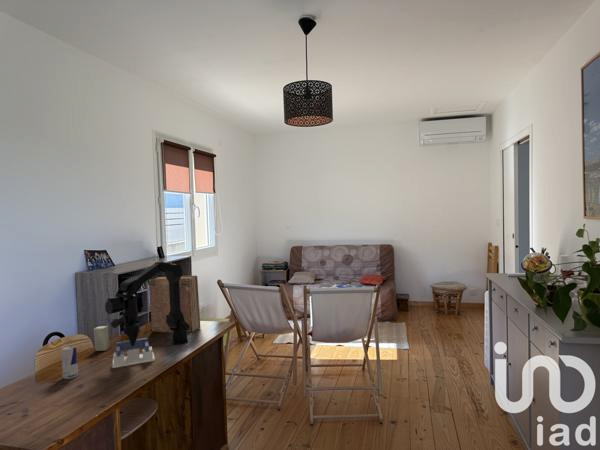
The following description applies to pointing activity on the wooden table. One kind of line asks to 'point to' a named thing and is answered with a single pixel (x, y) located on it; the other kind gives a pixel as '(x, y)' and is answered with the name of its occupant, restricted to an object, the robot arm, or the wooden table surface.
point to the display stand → (133, 357)
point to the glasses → (127, 345)
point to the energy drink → (69, 362)
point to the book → (162, 302)
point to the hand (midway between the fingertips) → (132, 343)
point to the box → (101, 338)
